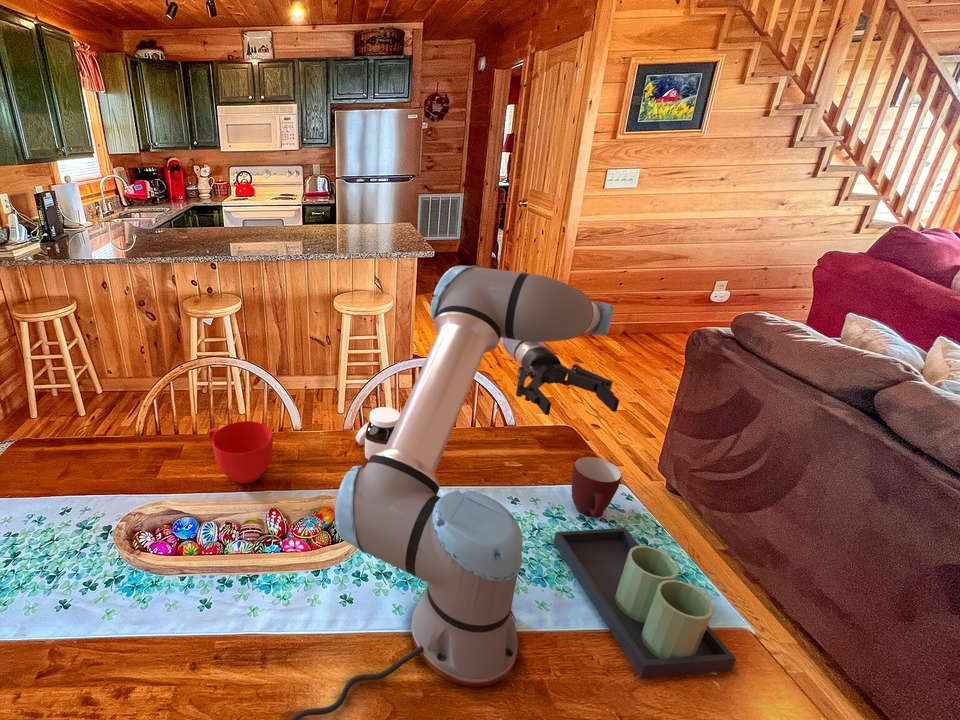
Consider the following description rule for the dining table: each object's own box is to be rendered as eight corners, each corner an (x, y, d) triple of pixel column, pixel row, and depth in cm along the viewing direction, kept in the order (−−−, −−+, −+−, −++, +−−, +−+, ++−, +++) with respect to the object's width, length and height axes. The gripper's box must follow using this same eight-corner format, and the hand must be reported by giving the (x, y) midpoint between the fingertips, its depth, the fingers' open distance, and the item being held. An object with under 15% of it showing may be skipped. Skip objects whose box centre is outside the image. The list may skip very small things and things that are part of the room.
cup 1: (630, 627, 77) (646, 580, 73) (606, 593, 83) (619, 546, 79) (670, 625, 77) (689, 577, 73) (644, 590, 83) (659, 544, 79)
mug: (621, 535, 94) (634, 492, 90) (575, 532, 95) (586, 489, 91) (601, 498, 104) (612, 457, 100) (559, 495, 105) (568, 455, 101)
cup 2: (659, 670, 71) (678, 620, 67) (631, 629, 77) (647, 581, 73) (703, 666, 71) (725, 617, 67) (671, 626, 77) (690, 578, 73)
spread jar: (392, 474, 113) (394, 429, 108) (345, 461, 117) (345, 418, 112) (407, 445, 122) (410, 403, 118) (364, 435, 127) (364, 394, 122)
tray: (640, 678, 70) (645, 665, 69) (553, 542, 93) (555, 531, 92) (730, 671, 71) (736, 658, 70) (621, 538, 94) (625, 527, 93)
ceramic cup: (233, 446, 124) (229, 410, 120) (286, 469, 115) (284, 432, 111) (192, 473, 114) (186, 435, 110) (247, 501, 105) (243, 461, 101)
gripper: (586, 372, 122) (639, 420, 103) (483, 377, 122) (517, 426, 103) (592, 344, 119) (648, 388, 100) (487, 349, 118) (522, 394, 99)
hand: (582, 407), depth 101 cm, fingers open, 13 cm apart
